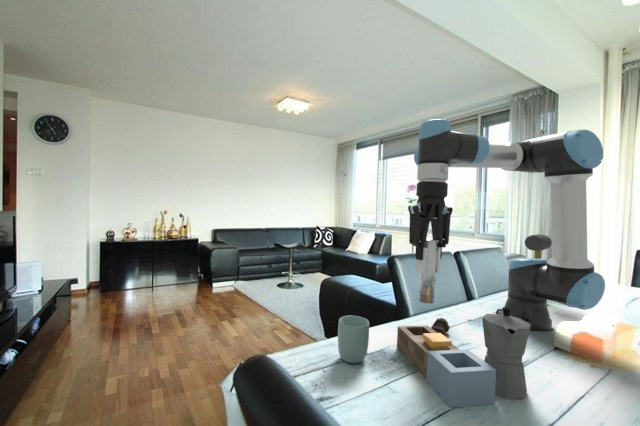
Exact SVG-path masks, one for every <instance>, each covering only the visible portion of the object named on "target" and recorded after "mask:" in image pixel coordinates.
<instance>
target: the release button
mask: <svg viewBox="0 0 640 426" xmlns="http://www.w3.org/2000/svg"><path fill="white" fill-rule="evenodd" d="M447 337H448V336H447ZM447 337H445V336H444V335H443V334H441V333H423V339H424V340H425V344H426V345H428V346H429V347H430V348H431V349H432V350H445V349H448V346H451V344H453V343H452V340H451V339H450V338H449V337H448V338H447Z"/></svg>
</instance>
